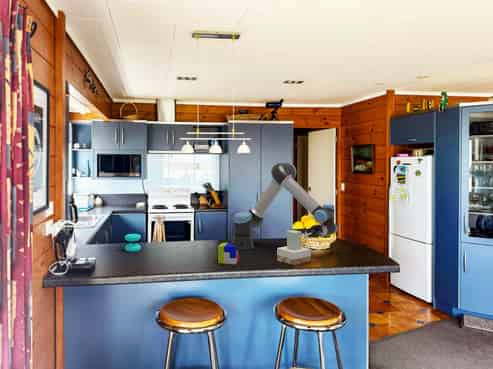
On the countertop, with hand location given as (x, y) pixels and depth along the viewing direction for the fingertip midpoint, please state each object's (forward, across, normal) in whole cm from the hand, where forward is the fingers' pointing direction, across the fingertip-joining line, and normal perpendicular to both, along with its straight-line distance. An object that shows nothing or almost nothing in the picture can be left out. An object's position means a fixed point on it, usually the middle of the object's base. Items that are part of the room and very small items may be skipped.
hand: (295, 234), depth 240 cm
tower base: (0, +1, -16) cm, 16 cm away
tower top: (0, +1, -12) cm, 12 cm away
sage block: (0, +1, -8) cm, 8 cm away
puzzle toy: (+30, +24, -16) cm, 42 cm away
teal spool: (+60, +86, -16) cm, 106 cm away
